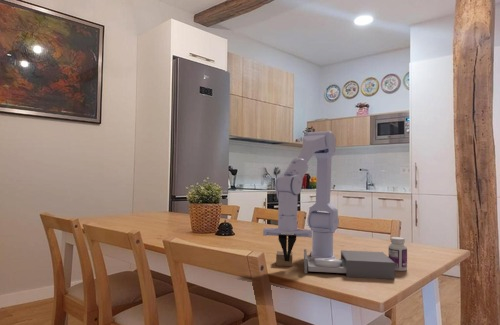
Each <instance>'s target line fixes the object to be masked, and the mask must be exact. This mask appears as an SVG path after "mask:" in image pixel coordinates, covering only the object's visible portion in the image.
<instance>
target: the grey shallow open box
mask: <svg viewBox="0 0 500 325" xmlns="http://www.w3.org/2000/svg"><path fill="white" fill-rule="evenodd" d="M307 253H308V252H307V249H305V248H304V249H303V267H304V268H303V271H304V274H306V275H307V274H308V272H316V273H317V272H318V273H334V274H335V273H336V274H345V273H347V262H346V261H345V259H341V258H337V259H338V260H342V266H341V267H323V266H317V265H314V263H315V259H316V258H314V257H311V256H309V257H308V254H307ZM329 259H336V257H335V258H329Z"/></svg>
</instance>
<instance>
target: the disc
mask: <svg viewBox="0 0 500 325" xmlns="http://www.w3.org/2000/svg"><path fill="white" fill-rule="evenodd" d="M338 259H339V258H335V259H329V258H316V259H315V263H314V265H317V266H323V267H341V266H342V260H338Z"/></svg>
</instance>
